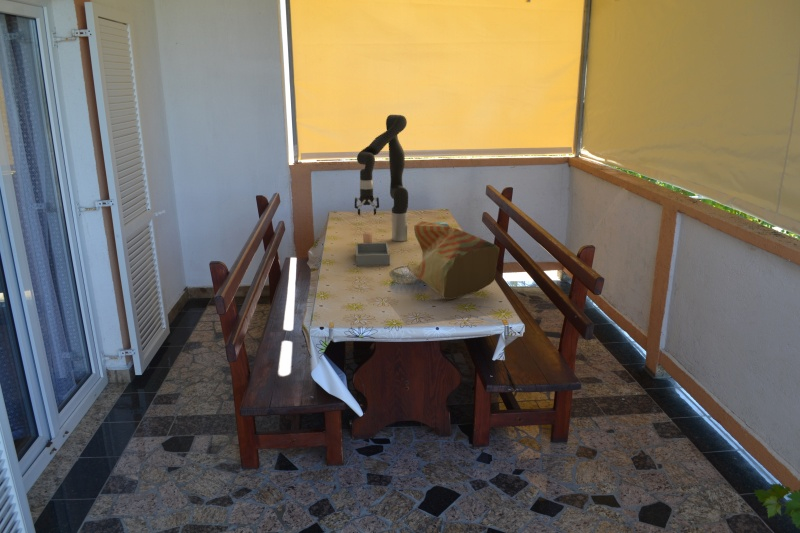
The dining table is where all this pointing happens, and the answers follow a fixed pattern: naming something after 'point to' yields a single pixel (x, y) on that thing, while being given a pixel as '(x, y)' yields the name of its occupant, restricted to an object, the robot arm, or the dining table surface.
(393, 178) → the robot arm
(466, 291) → the shopping bag
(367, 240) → the jar
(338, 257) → the dining table surface
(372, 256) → the tote
